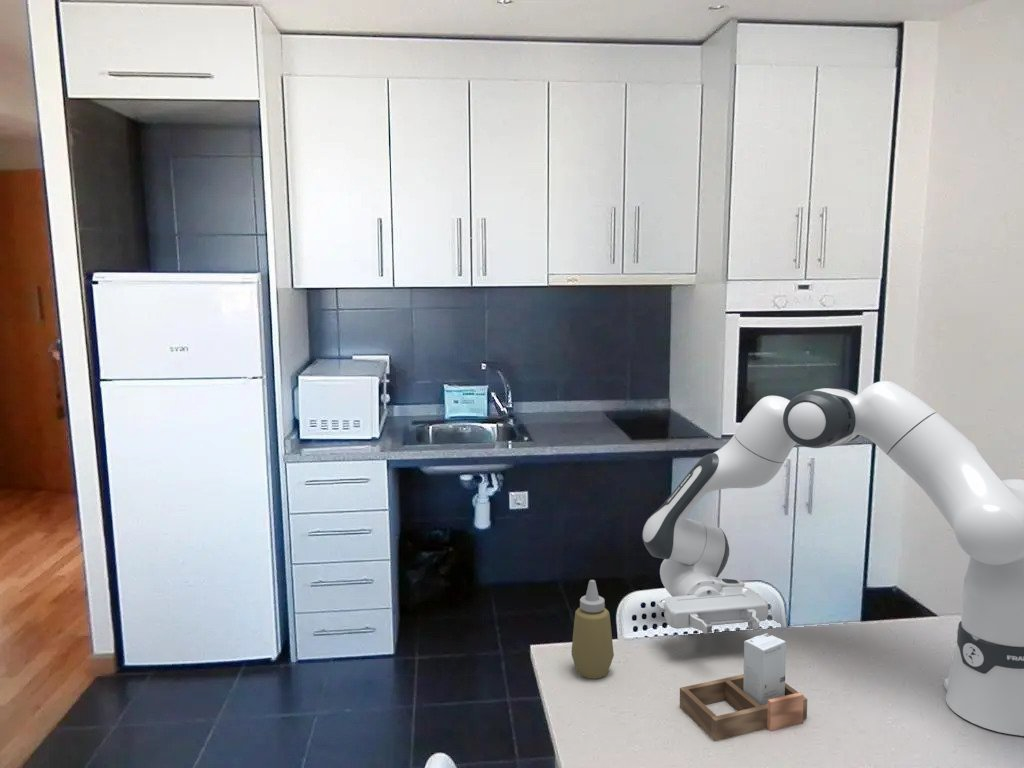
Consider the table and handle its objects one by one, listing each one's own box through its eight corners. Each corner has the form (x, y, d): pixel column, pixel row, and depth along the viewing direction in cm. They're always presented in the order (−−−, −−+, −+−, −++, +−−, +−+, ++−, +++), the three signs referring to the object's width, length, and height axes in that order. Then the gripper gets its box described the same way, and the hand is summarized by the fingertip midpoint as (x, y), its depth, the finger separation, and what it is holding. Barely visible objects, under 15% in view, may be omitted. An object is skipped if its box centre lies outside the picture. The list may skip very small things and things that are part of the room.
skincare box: (762, 719, 123) (763, 651, 122) (741, 707, 127) (742, 640, 125) (786, 708, 126) (788, 641, 125) (765, 696, 130) (766, 631, 129)
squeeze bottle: (568, 680, 137) (567, 587, 135) (574, 659, 144) (574, 571, 142) (611, 684, 135) (611, 591, 133) (616, 663, 143) (616, 574, 140)
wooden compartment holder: (766, 687, 133) (766, 661, 132) (810, 721, 122) (811, 692, 122) (679, 706, 127) (679, 679, 127) (717, 743, 117) (718, 714, 116)
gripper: (653, 587, 149) (679, 616, 135) (748, 579, 152) (782, 606, 138) (653, 616, 150) (679, 648, 136) (747, 608, 153) (781, 638, 139)
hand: (732, 627), depth 137 cm, fingers open, 8 cm apart
